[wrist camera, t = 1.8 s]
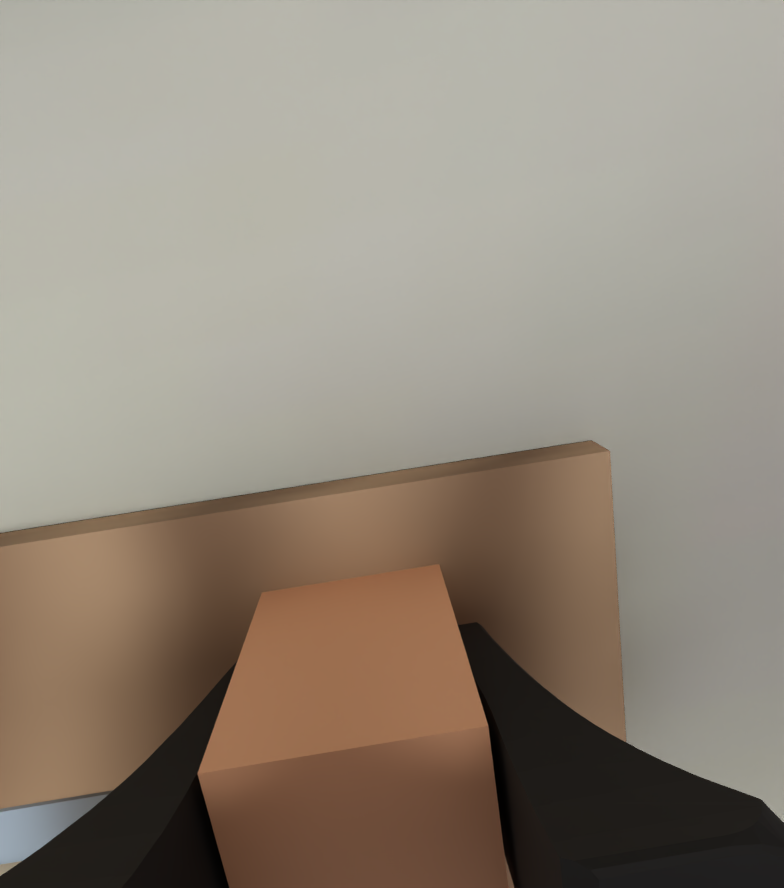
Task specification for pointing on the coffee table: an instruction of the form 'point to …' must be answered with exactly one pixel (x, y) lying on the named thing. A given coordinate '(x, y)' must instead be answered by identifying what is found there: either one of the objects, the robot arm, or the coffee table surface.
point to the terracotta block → (355, 744)
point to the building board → (274, 568)
